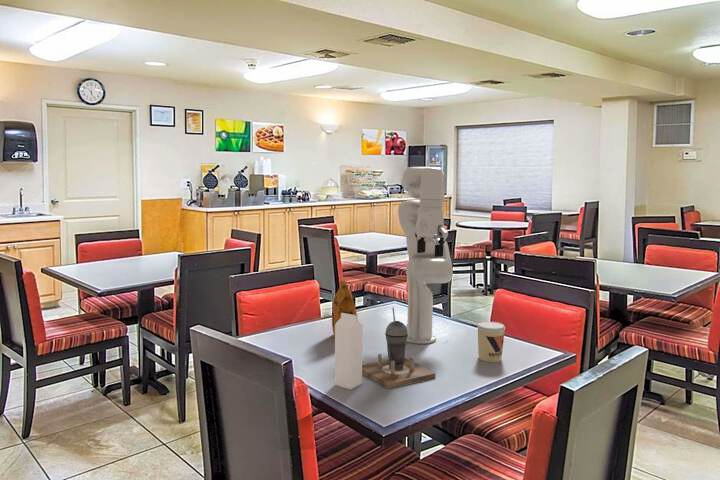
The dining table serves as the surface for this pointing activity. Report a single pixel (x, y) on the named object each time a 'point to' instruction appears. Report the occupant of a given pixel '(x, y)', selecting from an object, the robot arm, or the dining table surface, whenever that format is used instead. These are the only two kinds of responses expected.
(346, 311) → the coffee package
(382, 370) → the cup stand
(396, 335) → the beverage cup
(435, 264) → the robot arm
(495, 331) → the coffee cup
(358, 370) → the milk
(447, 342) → the dining table surface
